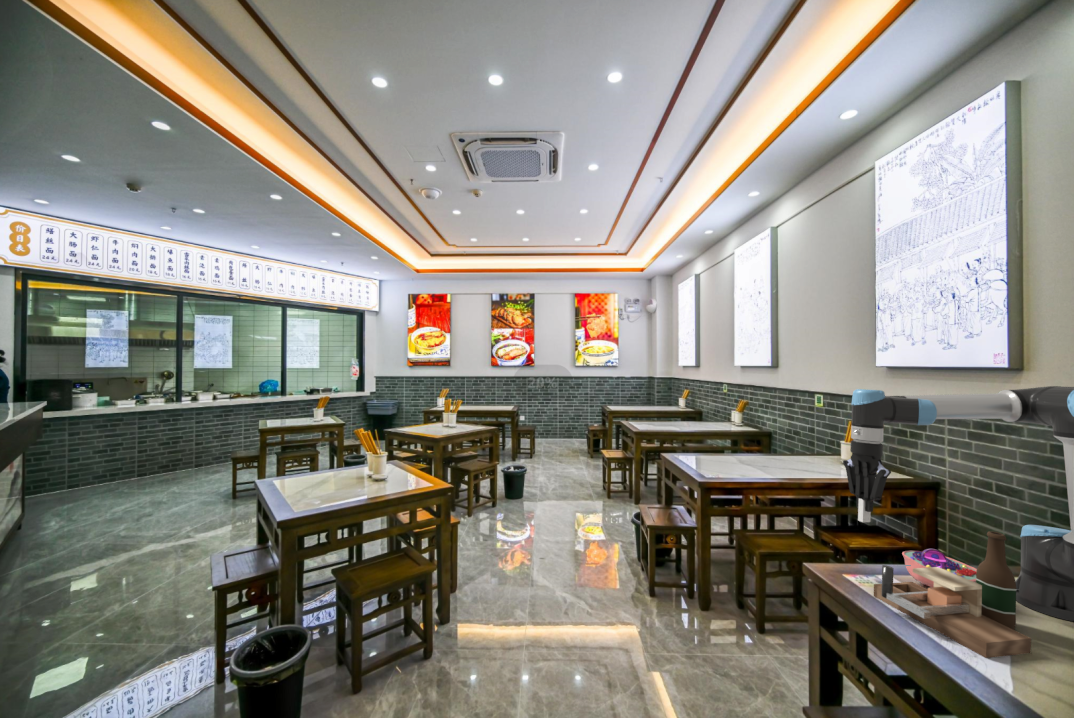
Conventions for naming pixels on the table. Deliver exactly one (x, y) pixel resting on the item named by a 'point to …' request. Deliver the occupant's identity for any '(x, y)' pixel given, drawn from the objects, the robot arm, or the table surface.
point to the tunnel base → (965, 627)
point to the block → (942, 596)
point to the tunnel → (955, 586)
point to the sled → (916, 599)
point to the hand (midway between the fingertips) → (864, 521)
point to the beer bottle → (997, 583)
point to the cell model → (936, 565)
